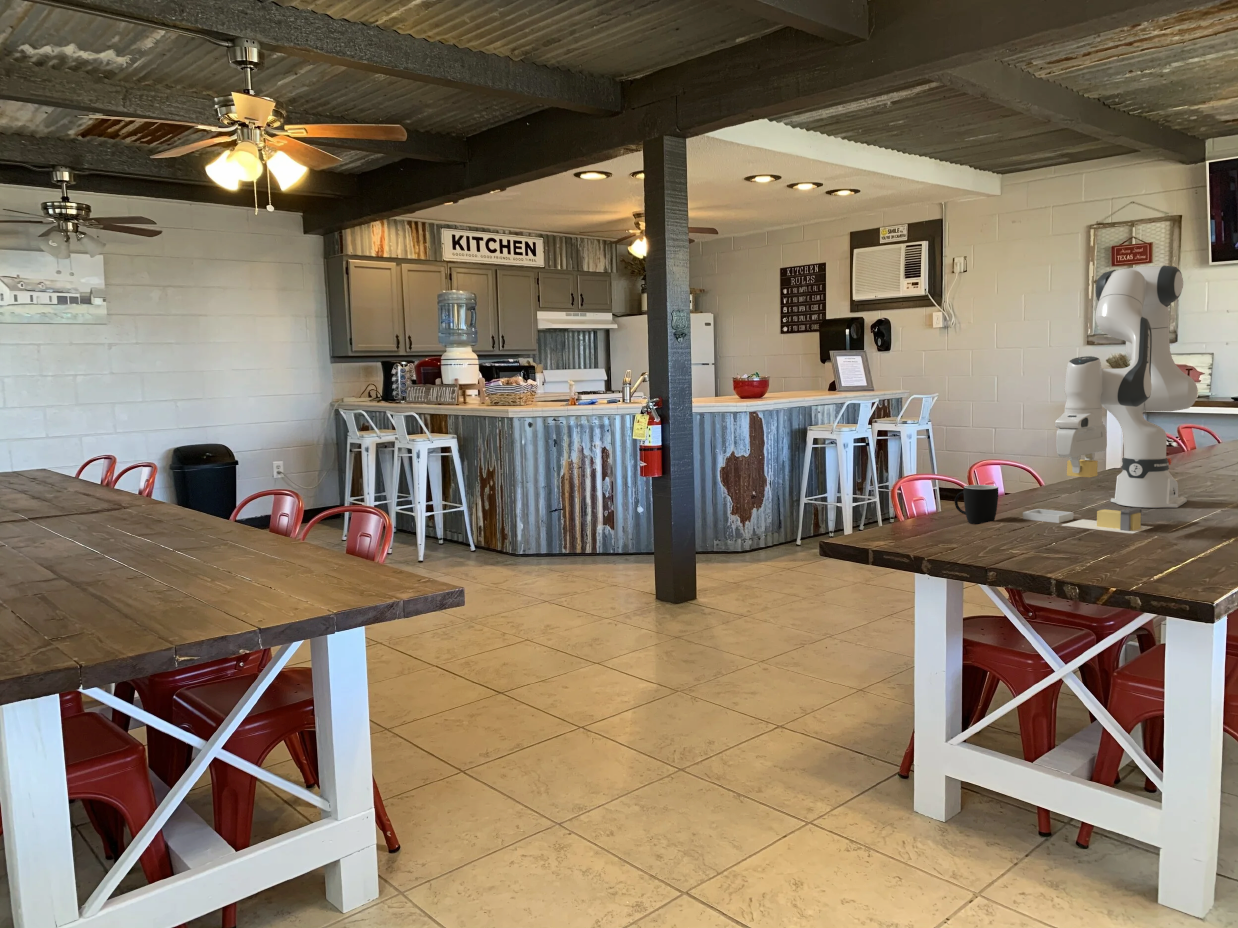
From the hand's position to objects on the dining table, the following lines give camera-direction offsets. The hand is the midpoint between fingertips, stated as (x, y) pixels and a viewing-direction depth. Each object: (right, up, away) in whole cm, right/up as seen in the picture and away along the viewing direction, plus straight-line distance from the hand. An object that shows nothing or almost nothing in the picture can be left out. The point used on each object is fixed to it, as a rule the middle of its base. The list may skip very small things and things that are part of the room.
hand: (1082, 471), depth 241 cm
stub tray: (-5, -14, +9) cm, 18 cm away
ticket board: (+4, -15, -4) cm, 16 cm away
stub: (0, -1, 0) cm, 1 cm away
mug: (-22, -15, +15) cm, 31 cm away
